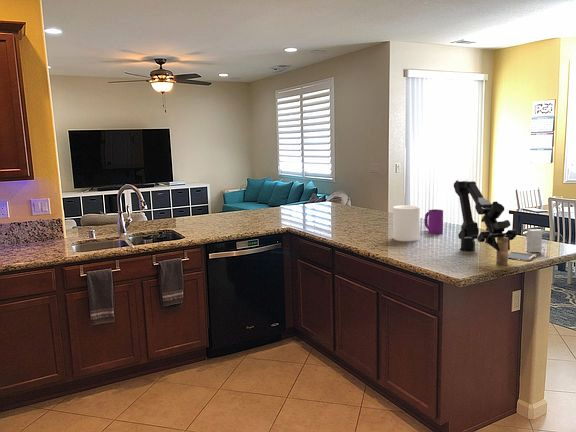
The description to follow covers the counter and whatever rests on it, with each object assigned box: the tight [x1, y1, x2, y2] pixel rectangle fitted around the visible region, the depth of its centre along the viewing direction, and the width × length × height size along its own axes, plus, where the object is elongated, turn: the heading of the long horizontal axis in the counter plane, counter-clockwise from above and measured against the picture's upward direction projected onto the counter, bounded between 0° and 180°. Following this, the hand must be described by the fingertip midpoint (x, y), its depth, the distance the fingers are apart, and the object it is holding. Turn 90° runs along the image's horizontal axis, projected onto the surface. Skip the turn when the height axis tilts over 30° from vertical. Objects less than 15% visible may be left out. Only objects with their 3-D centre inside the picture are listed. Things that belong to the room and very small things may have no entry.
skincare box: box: [526, 228, 543, 253], centre depth 252 cm, size 6×4×12 cm
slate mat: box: [508, 250, 537, 262], centre depth 242 cm, size 12×12×1 cm
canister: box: [392, 204, 421, 242], centre depth 295 cm, size 16×16×20 cm
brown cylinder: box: [495, 237, 509, 266], centre depth 230 cm, size 5×5×13 cm
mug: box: [424, 208, 444, 235], centre depth 313 cm, size 9×16×15 cm, turn 22°
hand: (504, 250), depth 229 cm, fingers closed on brown cylinder, 5 cm apart
